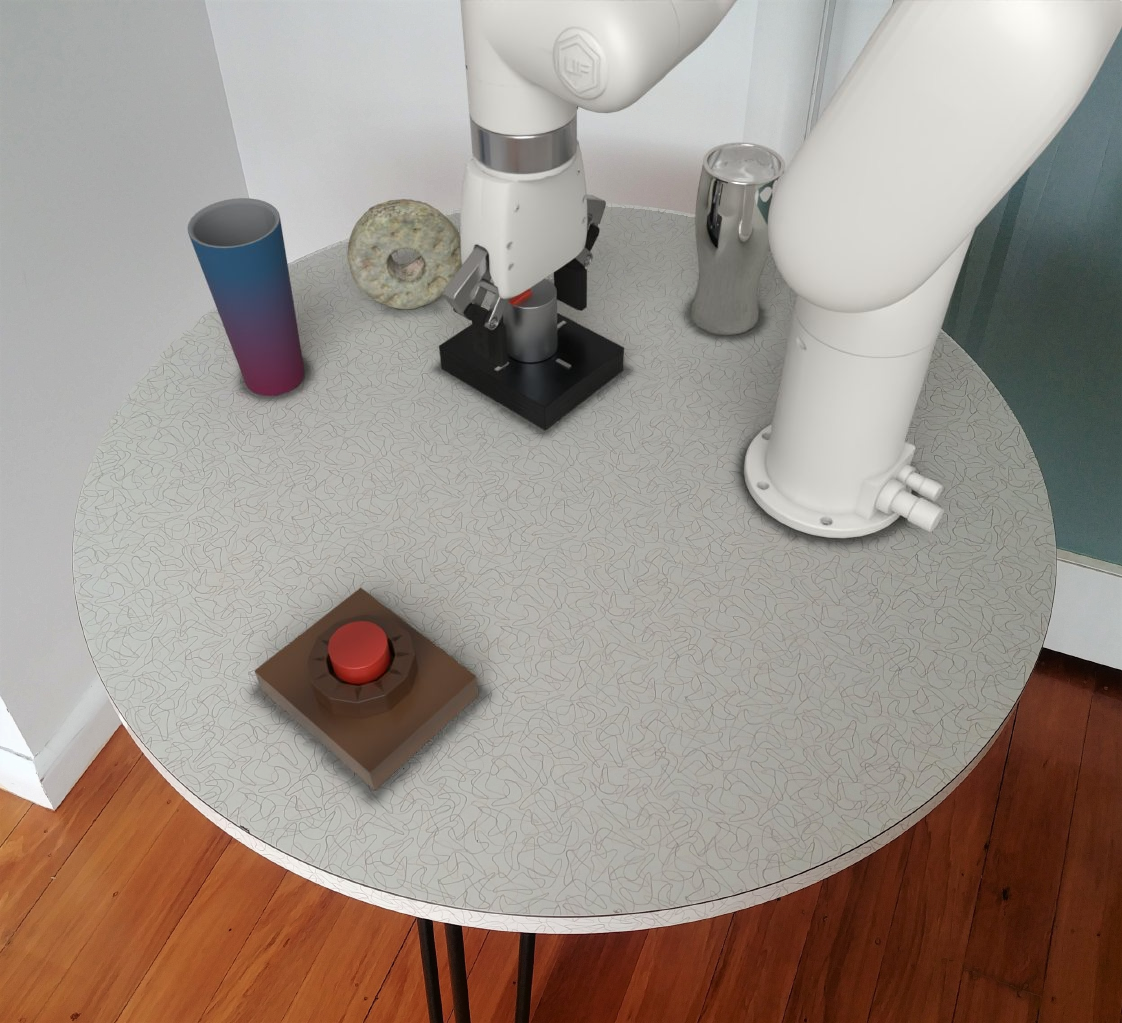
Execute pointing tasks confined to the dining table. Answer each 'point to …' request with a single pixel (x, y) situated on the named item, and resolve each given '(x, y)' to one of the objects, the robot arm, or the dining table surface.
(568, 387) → the plate
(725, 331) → the beer glass
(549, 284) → the tap knob
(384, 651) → the button
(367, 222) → the stone ring
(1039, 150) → the robot arm
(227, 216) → the cup
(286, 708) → the button block
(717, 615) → the dining table surface
